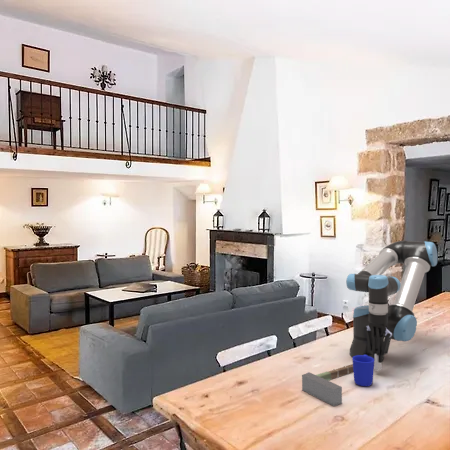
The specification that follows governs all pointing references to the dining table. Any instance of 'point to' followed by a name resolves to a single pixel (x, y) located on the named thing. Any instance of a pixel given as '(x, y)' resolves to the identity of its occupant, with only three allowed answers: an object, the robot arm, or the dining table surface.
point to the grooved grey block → (322, 389)
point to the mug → (363, 370)
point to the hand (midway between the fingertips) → (378, 369)
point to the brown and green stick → (336, 372)
